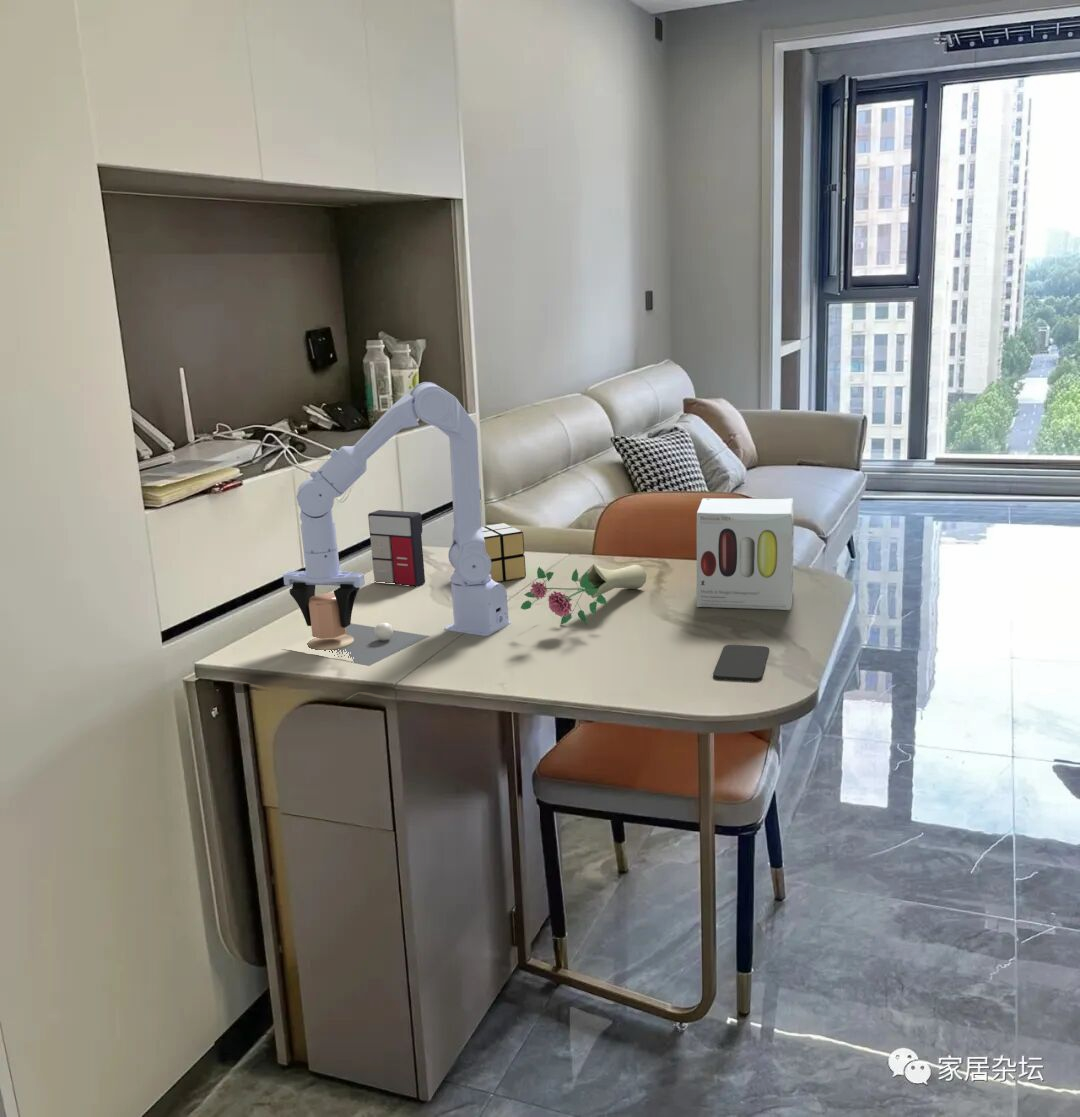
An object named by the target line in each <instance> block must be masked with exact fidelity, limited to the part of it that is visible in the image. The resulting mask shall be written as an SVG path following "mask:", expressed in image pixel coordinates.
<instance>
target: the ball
mask: <svg viewBox="0 0 1080 1117" xmlns="http://www.w3.org/2000/svg"><path fill="white" fill-rule="evenodd" d="M374 627H375V636H376V637H377V638H378V639H379V640H382V641H386V640H388V639H390V638H391V637H392V635H393V630H394V629H393V626H392V625H391V624H390V623H388V622H380V623H378V624H376V625H375V626H374Z"/></svg>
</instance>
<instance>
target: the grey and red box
mask: <svg viewBox="0 0 1080 1117" xmlns="http://www.w3.org/2000/svg"><path fill="white" fill-rule="evenodd" d="M367 518H368V529H369V538H370V548H371V559H372V567H373V578H374V582H375V581H376V582H385V583H395V584H401V585H400V586H402V585H409V586H408V587H412V586H415V588H417V587H416V586H418V587H420V586H422V585H424V584H425V583H426V576H425V573H426V572H425V564H424V562H425V561H424V553H423V552H424V551H423V540H422V533H423V521H422V518H423V517H422V513H421V512H420V511H417V512H416V511H403V510H402V511H401V510H384V509H378V510H375V511H372V512H369V513H368V514H367ZM376 582H375V583H376ZM423 583H424V584H423Z"/></svg>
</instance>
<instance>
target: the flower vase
mask: <svg viewBox="0 0 1080 1117" xmlns="http://www.w3.org/2000/svg"><path fill="white" fill-rule="evenodd" d="M536 573H537V574H536V575H537V579H538V580H539V579H542V580H543V582H541V581H539V582H538V581H536V582H532V584H531V585H530V587H531V589H530V591H527V592H526V593H524V594H523V595H524V596H525V597H528V598H533V599H534V598H535V599H536V600H534V601H532V602H531V601H530V600H529V599H527V600H525V601H524V602H523V603H522V604H521V606H520V609H522V610H529V609H531V607H532V605H533V604H534V603H536V602H537V601H539V600H540V599H543V598H545V597H546V596H545V595H547V593H548V592H550V591H551V590H554V591H553V592H550V593H551V594H550V595H548V599H547V600H548V608H549V610H550V611H551V612H552V613H554V614H555V615H557V616H558V617H561V619H560V620H561V621H560V625H564V624H567V623H568V622H569V621H570V620H571V619H572V617H573V616H572V614H573V612H574V611H575V608H576V606H577V605H578V607H579V608H578V609H580V610H579V611H578V612H577V616H578V618H579V619H580V620H581V622H584V624H588V621H587V616H586V615H585V611H584V610H581V607H580V605H579V600H580V598H581V596H582V594H583V593H584V592H585V593H586V595H588V596H590V597H591V598H592V599H594V598H595V599H594V601H592V602H590V603H589V604H588V605H589V611H590V613H591V614H592V615H593V616H594V615H595V613H596V611H597V604H598V603H599V604H601V605H608V602H607V599H606V597H604V595H603V594H605V593H607V592H609V591H612V590H614V589H628V590H631V589H632V590H638V589H640V588H643V586H644V585H645V584H646V581H647V573H646V570H645V569H644V567H642V566H641V565H639V564H631V565H628V566H624V567H621V568H615V569H607V568H604V567H600V566H599V565H597V564H595V563H593V564H592V565H591V566H590V567H589V568H588V569H587V570H586V571H585V572H584V573H583V575H581V576H580V578H579V573H578V569H577V568H575V569H574V571H573V572H572V576H571V581H572V582H575V584H576V585H577V587H576V588H574V587H572V588H570V587H568V588H567V587H547V585H546V582H550V581H551V579H552V577H553V576H554V574H555V572H553V571H548V572H546V573H545V571H544V570H543V569H542V568H541V567H540V566H538V568H537V572H536ZM545 578H546V580H544V579H545ZM578 582H579V585H578ZM579 586H580V588H579ZM555 590H563V591H564V590H570V591H572V590H577V591H576V592H574V593H572V594H570V595H566V594H565V593H563V594H562V592H561V591H559V592H557V591H555ZM577 594H581V595H580V596H579V598H578V599H577V600H576V604H575V606H574V608H573V609H572V603H570V602H571V601H572V597H574V596H576V595H577Z"/></svg>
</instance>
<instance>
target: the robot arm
mask: <svg viewBox="0 0 1080 1117" xmlns="http://www.w3.org/2000/svg"><path fill="white" fill-rule="evenodd" d="M417 419H419V420H421V421H422V422H424V423H426V424H428V425H431V426H432V427H433V426H434V427H436V428H438V429H439V430H440V431H441V432H442V433H444V434H445V435H446V436H447V437H448V439H449V455H450V456H449V457H450V474H451V479H450V480H451V491H452V492H451V493H452V511H453V512H452V514H453V528H452V543H451V545H450V547H449V550H448V561H449V563H450V565H451V566H452V567H453V569H454V571H453V574H452V576H450V586H451V587H450V588H451V598H452V599H451V601H452V614H453V623H451V624H449V625H447V626H444V630H445V631H451V632H458V633H464V634H470V635H475V636H476V635H478V636H483V637H488V636H491V635H492V634H494V633H496V632H497V631H499V630H501V629H503V628H506V627H507V626H509V625H511V624H512V621H510V620H509V607H508V594H507V589H506V587H505V585H504V584H502V583H501V582H498V583H497V582H495V581H493V580H492V579H491V575H490V571H491V560H490V557H489V556H488V554H487V552H486V549H485V540H484V536H483V532H482V527H483V526H482V510H481V509H482V508H481V507H482V506H481V490H480V489H481V487H480V469H479V468H480V467H479V466H480V464H479V450H478V448H479V446H478V429H477V425H476V423H475V421H474V420H473V418H471V416H470V415H469V413H468V412H467V411H466V410H465V408H464V407H463V406H462V404H461V403H460V400H458V398H457V397H456V396H454V395H453V394H452V393H450V392H449V391H447V390H446V389H444V388H442V387H441V386H439V385H437V383H434V382H430V381H424V382H421V383H418V384H416V385H415V386H414V387H413V388H412V390H411V391H410V393H409V392H407V393H405V394H404V395H403V396H401V397H400V398H399V399H398V400H397V401H395V403H394V404H392V405H391V407H389V408H388V409H387V410H386V412H385V413H383V414H382V416H381V417H380V418H379V419H378V420H377V421H375V423H374V424H373V425H372V426H371V427H370V428H369V429H368V430H367V432H366V433H365V434H363V435H362V437H360V439H359V440H357V442H356V443H355V444H354V445H351V446H349V445H348V446H346V445H345V446H341V447H340V448H339V449H336V448H333V450H332V451H330V452H329V455H330V457H329V459H328V460H326V461H325V462H324V463H323V464H322V465H321V467H319V468H318V470H312V471H311V472H310V473H309V476H310V477H311V478H308V479H305V480H304V481H302V483H301V484H300V485H299V486H298V488H297V492H296V500H297V506H298V507H299V509H300V513H299V519H300V521H301V523H300V532H301V541H302V549H303V550H302V551H303V556H304V557H303V559H304V565H305V570H300V571H288V572H285V573H284V574H282V575H283V576H282V577H283V585H285V586H291V585H292V586H291V588H290V589H289V590H288V591H289V594H290V596H291V597H292V598H293V599H294V601H295V602H296V603H297V605H298V607H299V609H300V611H301V613H302V616H303V618H304V620H305V623H306V626H307V627H311V619H310V610H309V599H310V597H312V596H315V595H316V586H334V587H335V586H336V587H337V586H339V587H338V588H336V589H335V590H333V593H334V594H335V597H336V600H337V603H338V607H339V613H340V622H341V626H342V628H346V627H347V626H349V625H350V624H351V623H352V622H351V620H352V613H353V608H354V604H355V601H356V598H357V595H358V594H359V591H360V588H361V587H363V586H364V585H365V584H366V582H365V573H359V572H358V573H357V572H352V571H351V572H350V571H344V570H341V568H340V560H339V551H338V550H339V549H338V540H337V539H338V538H337V532H336V523H335V522H336V521H335V520H334V519H333V510H332V509H333V506H334V503H335V498H339V497H341V496H342V495H343V494H344V493H345V492H346V491H347V490H348V489H350V487H352V486H353V485H354V483H355V482H357V480H358V479H360V478H361V477H362V476H363V475H364V474H365V472H367V465H368V464H367V462H368V460H369V459H370V457H371V456H373V455H374V454H375V453H376V452H377V451H378V450H380V448H382V446H383V447H384V445H385V444H386V443H387V442H388V441H389V440H390V439H392V438H393V437H394V436H395V435H396V434H397V433H398V432H399V431H400V430H402V429H408V428H412V427H418V426H420V424H419V421H418V420H417Z"/></svg>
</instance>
